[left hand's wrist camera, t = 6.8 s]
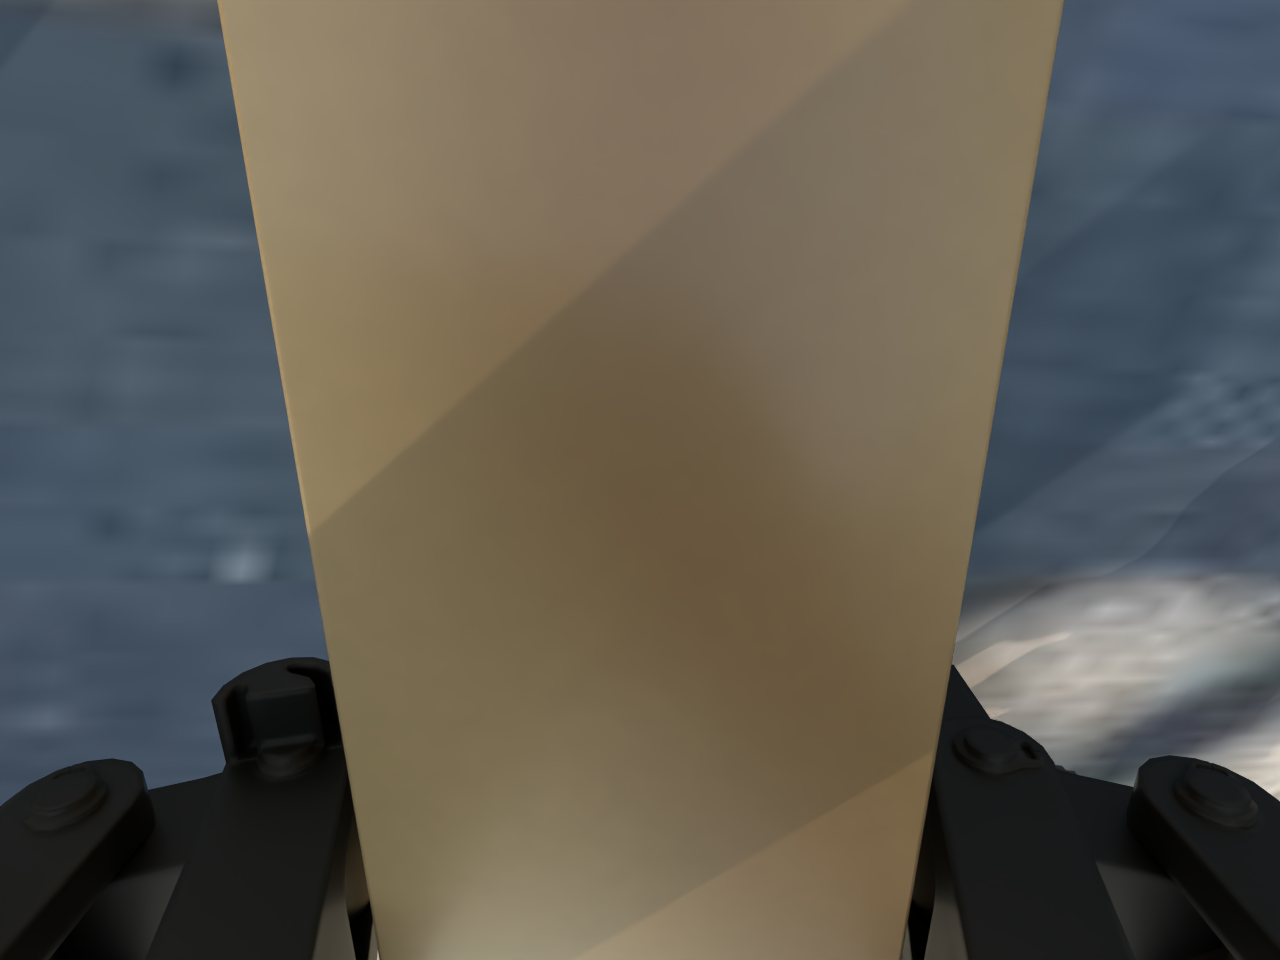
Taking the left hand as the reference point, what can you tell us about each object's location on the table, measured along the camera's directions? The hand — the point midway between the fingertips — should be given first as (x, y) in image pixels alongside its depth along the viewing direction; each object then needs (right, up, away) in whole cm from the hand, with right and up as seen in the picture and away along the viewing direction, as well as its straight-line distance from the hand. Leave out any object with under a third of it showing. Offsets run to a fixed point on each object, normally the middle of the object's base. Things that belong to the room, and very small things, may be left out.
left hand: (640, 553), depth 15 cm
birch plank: (0, +8, -3) cm, 9 cm away
